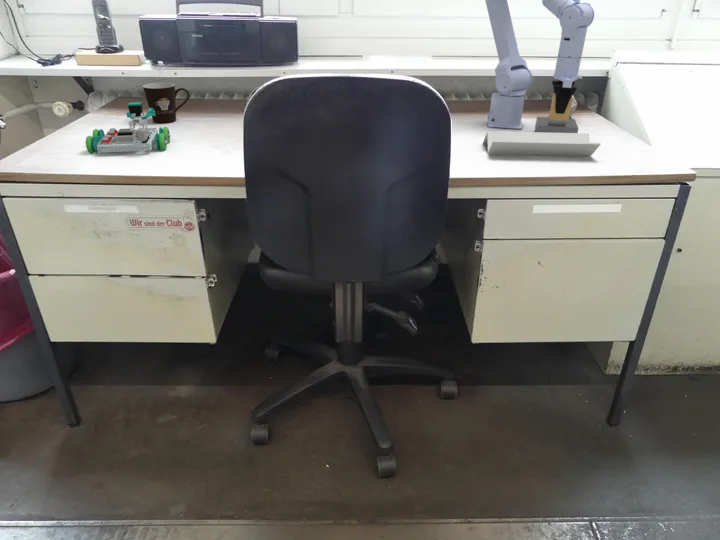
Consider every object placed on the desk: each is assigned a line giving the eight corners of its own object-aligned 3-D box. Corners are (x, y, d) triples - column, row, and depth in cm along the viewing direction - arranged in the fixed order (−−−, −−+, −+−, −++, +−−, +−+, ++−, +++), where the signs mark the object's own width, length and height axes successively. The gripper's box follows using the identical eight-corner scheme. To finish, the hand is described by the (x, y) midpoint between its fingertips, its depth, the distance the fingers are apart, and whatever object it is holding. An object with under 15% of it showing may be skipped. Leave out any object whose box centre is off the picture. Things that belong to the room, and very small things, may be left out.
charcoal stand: (535, 140, 142) (538, 125, 140) (534, 130, 150) (536, 116, 148) (575, 143, 140) (578, 128, 138) (571, 133, 148) (574, 119, 146)
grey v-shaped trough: (483, 165, 137) (482, 143, 139) (581, 167, 136) (579, 145, 138) (493, 141, 125) (492, 118, 127) (600, 144, 125) (598, 120, 126)
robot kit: (178, 129, 149) (172, 95, 144) (165, 156, 128) (159, 117, 123) (107, 132, 146) (100, 96, 141) (83, 160, 125) (72, 119, 120)
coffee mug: (145, 124, 152) (138, 88, 147) (154, 117, 159) (148, 82, 154) (186, 124, 152) (181, 88, 147) (193, 117, 160) (188, 82, 155)
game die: (561, 129, 166) (581, 102, 165) (569, 126, 158) (591, 97, 156) (538, 113, 166) (558, 85, 164) (545, 109, 158) (566, 80, 156)
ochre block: (550, 119, 141) (554, 96, 138) (549, 115, 145) (553, 92, 142) (568, 120, 140) (572, 97, 137) (566, 116, 144) (571, 93, 141)
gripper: (589, 61, 128) (577, 118, 135) (582, 53, 140) (572, 106, 147) (559, 60, 130) (548, 116, 136) (554, 52, 142) (545, 104, 149)
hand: (559, 111), depth 142 cm, fingers closed on ochre block, 4 cm apart
